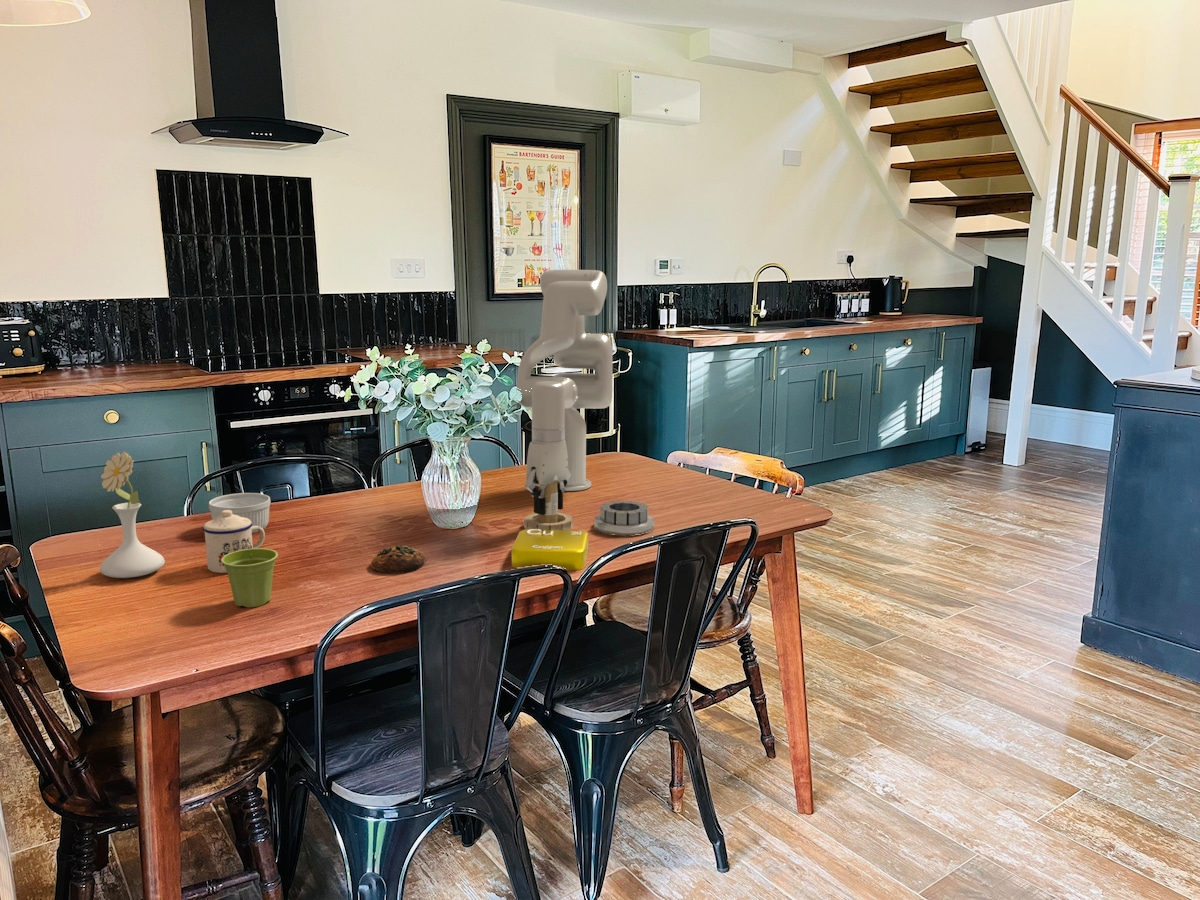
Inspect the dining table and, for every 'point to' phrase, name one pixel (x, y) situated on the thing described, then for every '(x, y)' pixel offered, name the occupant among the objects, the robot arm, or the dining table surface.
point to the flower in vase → (127, 526)
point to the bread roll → (398, 560)
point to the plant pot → (250, 575)
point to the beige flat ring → (563, 523)
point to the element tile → (550, 548)
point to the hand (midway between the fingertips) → (548, 510)
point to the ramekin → (243, 507)
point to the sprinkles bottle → (550, 503)
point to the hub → (623, 518)
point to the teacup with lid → (228, 538)
